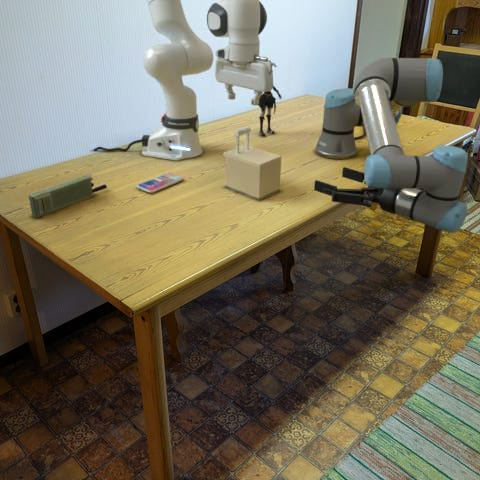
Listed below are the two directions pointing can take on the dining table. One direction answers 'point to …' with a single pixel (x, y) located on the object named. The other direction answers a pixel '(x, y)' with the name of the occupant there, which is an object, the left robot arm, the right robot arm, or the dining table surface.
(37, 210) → the handheld radio
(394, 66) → the right robot arm
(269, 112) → the figurine
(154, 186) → the smartphone
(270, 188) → the chest
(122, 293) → the dining table surface
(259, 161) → the lid
